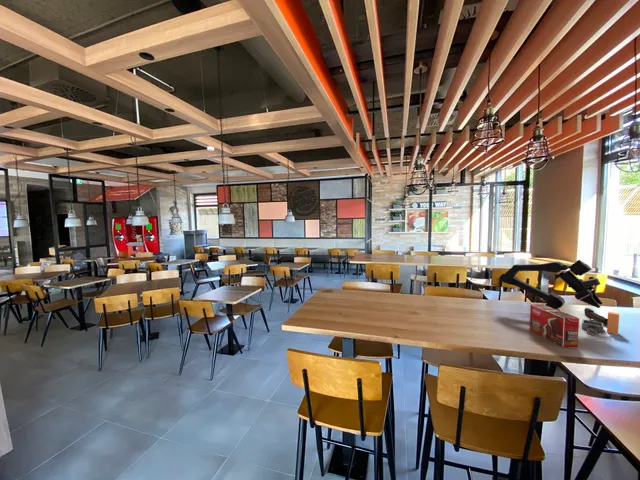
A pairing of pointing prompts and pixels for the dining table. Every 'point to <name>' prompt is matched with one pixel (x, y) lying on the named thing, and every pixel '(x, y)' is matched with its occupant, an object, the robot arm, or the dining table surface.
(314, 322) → the dining table surface
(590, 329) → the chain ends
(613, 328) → the orange rectangular block
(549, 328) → the ice cream box
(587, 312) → the hand tool
